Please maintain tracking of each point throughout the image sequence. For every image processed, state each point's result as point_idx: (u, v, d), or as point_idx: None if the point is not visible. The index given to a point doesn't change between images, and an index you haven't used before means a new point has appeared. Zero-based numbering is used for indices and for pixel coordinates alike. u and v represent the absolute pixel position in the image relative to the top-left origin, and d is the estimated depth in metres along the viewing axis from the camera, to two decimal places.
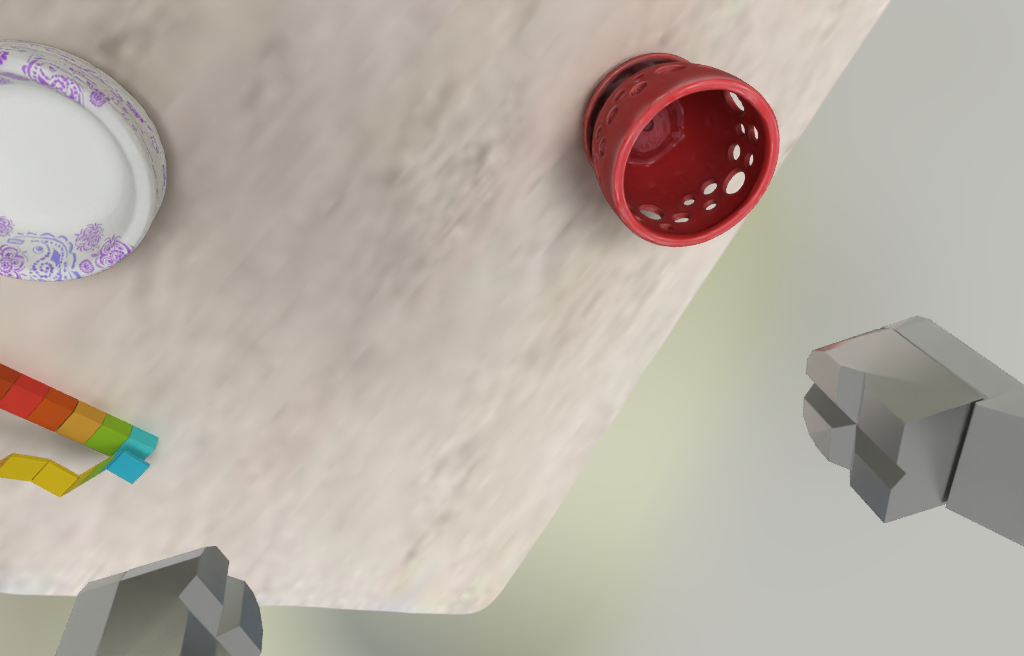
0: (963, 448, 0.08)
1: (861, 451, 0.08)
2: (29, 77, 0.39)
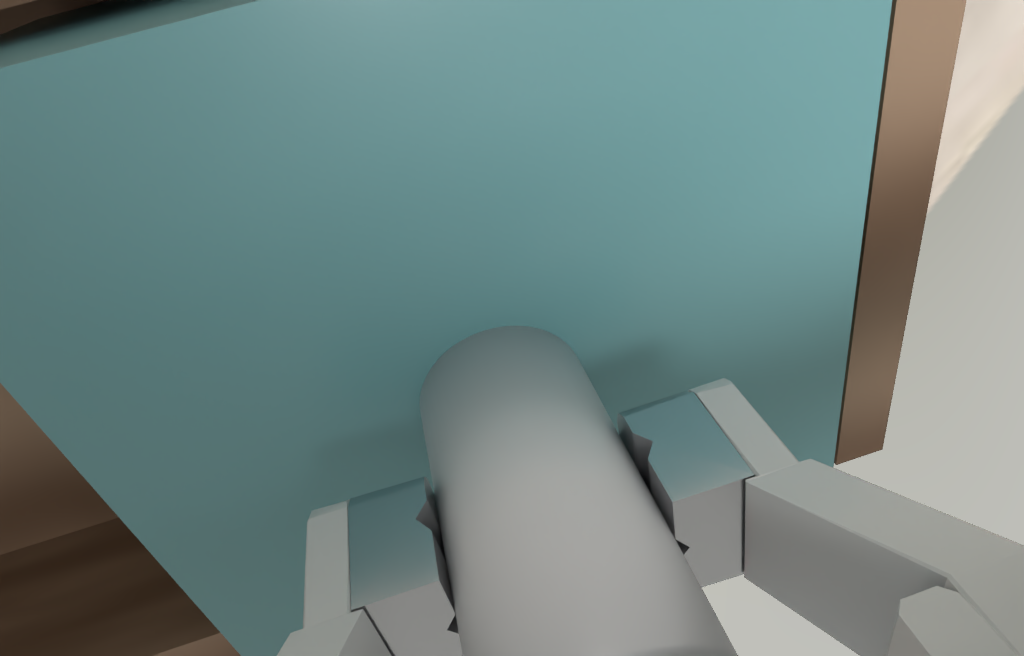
0: (745, 522, 0.07)
1: None
2: None
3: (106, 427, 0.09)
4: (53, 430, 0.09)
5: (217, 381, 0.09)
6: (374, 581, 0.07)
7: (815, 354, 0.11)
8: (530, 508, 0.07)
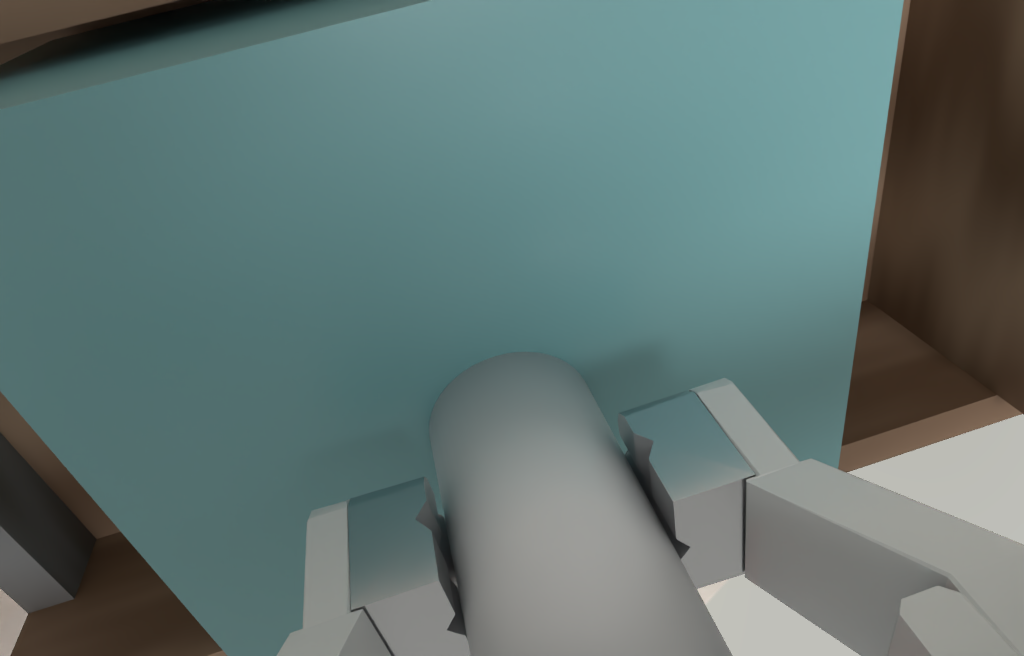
0: (746, 522, 0.07)
1: (661, 518, 0.08)
2: None
3: (118, 451, 0.09)
4: (65, 454, 0.09)
5: (230, 407, 0.09)
6: (374, 581, 0.07)
7: (819, 379, 0.11)
8: (543, 540, 0.07)
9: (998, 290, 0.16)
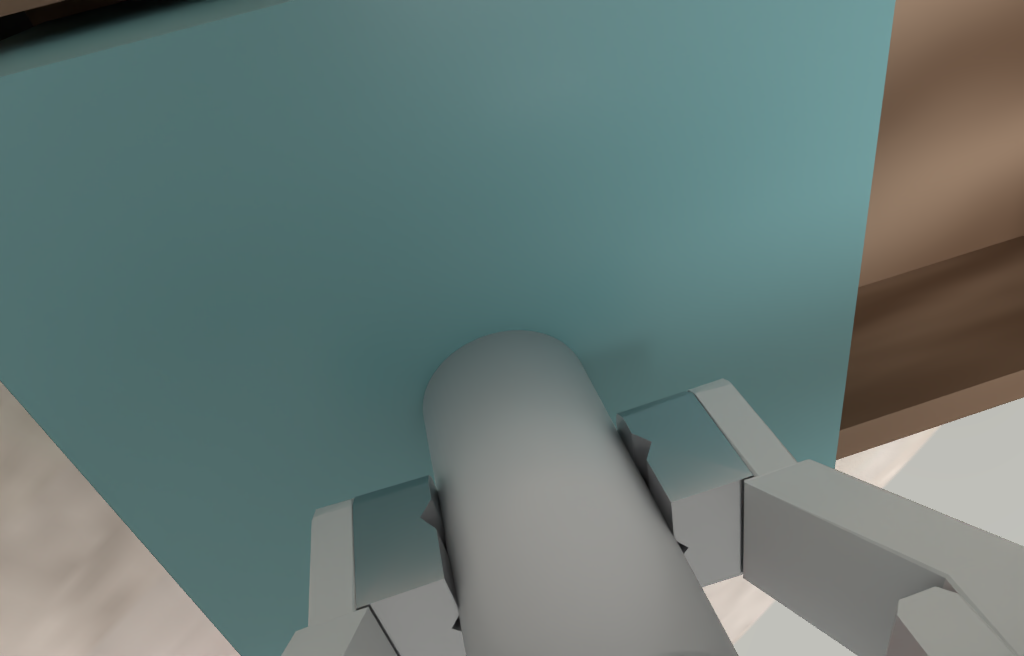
0: (744, 523, 0.07)
1: None
2: None
3: (111, 431, 0.09)
4: (57, 435, 0.09)
5: (221, 385, 0.09)
6: (379, 579, 0.07)
7: (817, 359, 0.11)
8: (533, 513, 0.07)
9: None
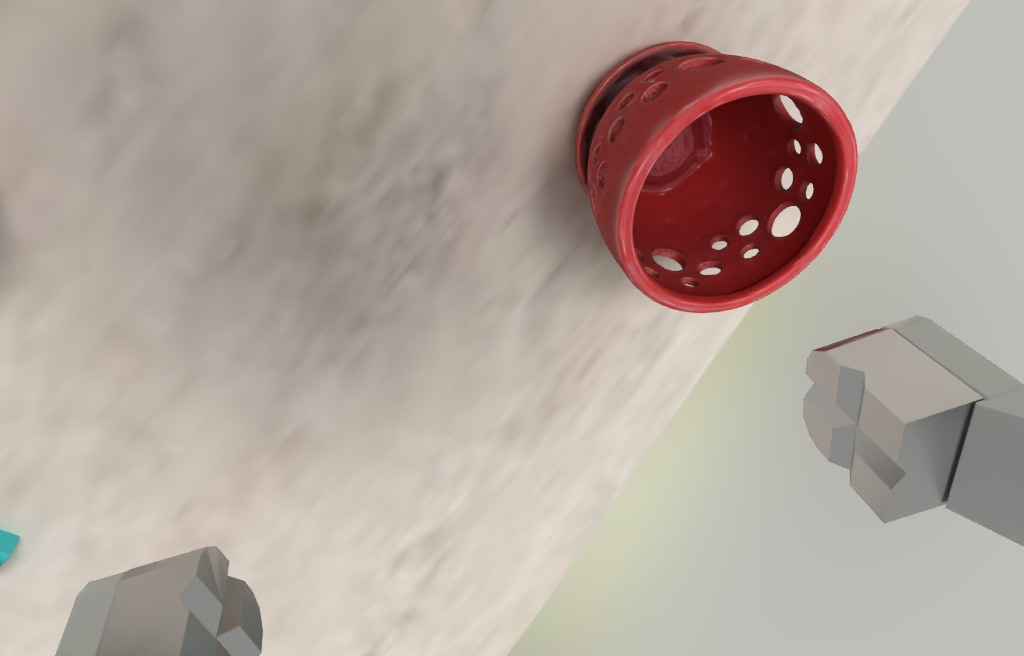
0: (963, 449, 0.08)
1: (861, 451, 0.08)
2: None
3: None
4: None
5: None
6: None
7: None
8: None
9: None
